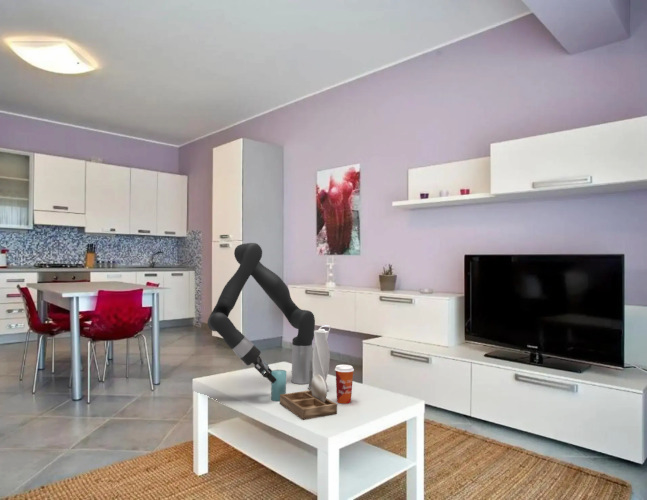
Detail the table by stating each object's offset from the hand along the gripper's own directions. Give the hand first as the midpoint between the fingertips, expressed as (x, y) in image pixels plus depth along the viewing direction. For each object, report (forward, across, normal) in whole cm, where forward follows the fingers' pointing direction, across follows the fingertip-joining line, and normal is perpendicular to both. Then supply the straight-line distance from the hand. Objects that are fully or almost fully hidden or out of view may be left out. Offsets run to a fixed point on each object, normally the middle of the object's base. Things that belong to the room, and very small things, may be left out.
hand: (274, 378), depth 179 cm
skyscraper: (+20, +10, -9) cm, 24 cm away
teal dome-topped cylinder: (+7, 0, +4) cm, 8 cm away
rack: (+14, -13, -3) cm, 20 cm away
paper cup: (+25, -6, -14) cm, 30 cm away
